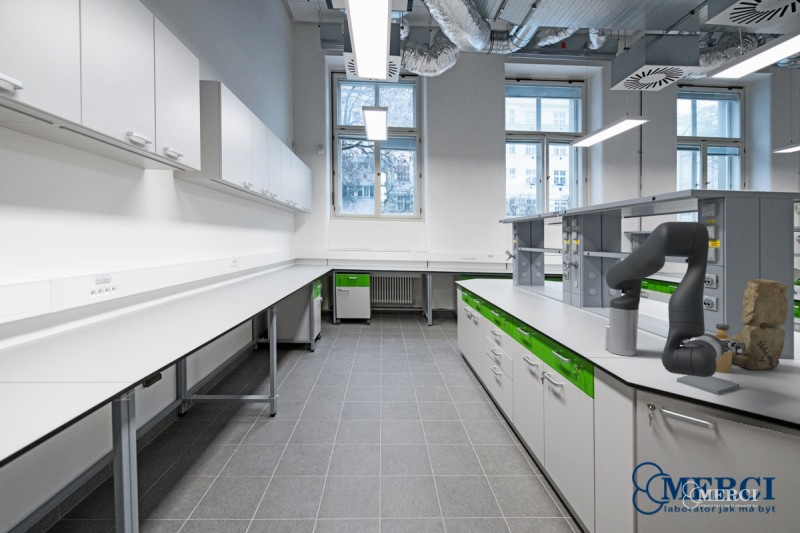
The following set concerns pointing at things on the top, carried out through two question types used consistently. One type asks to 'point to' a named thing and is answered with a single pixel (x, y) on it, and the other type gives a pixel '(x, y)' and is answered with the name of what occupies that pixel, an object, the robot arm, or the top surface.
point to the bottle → (726, 358)
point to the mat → (709, 383)
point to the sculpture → (762, 324)
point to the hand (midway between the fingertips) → (715, 339)
